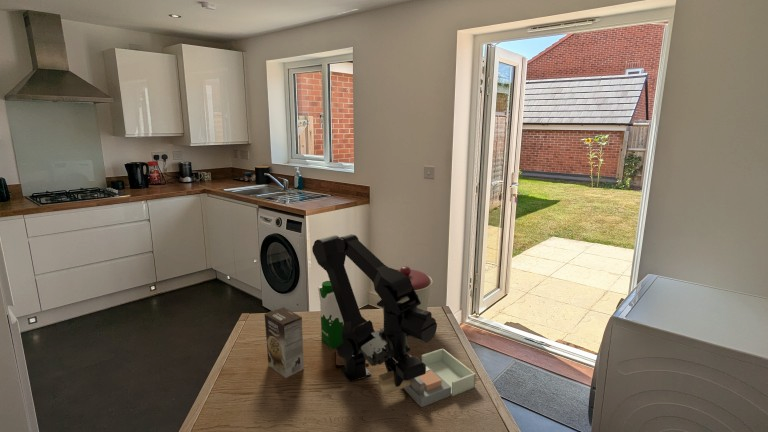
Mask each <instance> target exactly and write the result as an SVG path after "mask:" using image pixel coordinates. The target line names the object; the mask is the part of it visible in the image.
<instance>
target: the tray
mask: <svg viewBox="0 0 768 432" xmlns="http://www.w3.org/2000/svg"><path fill="white" fill-rule="evenodd" d="M421 361H423V362H424V363H425V364H426V365H427V366H428V367H429V368H430V369H432V370H433V371H434V372H435V373H436V374H437V375H438V376H439V377H441V378H442V379H443V380H444V381H445V382H446V383H447V384H449V385H450V386H451V397H454V396H457V395H460V394H463V393H464V392H467V391H469V390H472V389H475V388H476V373H475V372H474V371H472V370H471V369H470V368H469V367H468V366H466V365H465V364H464V363H462V362H461V361H460V360H459V359H457V358H456V357H454V356H453V354H451V353H450V352H448V351H447V350H446V349H444V348H440V349H437V350H433V351H430V352H427V353H423V354H422V355H421Z"/></svg>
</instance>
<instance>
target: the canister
mask: <svg viewBox="0 0 768 432" xmlns="http://www.w3.org/2000/svg"><path fill="white" fill-rule="evenodd" d="M397 270H398V271H400V272H401V273H403V274H404V275H406V276H407V277H408V278H409V279H410V281H411V284H412V286H413V288H414V290H415V292H416V294H417V295H418V298H419V300H420V302H421V304H420V305H418V306H417V308H419V309H422V310H425V311H428V306H429V299H430V294H431V293H430V292H431V287H432V286H433V284H434V280H433V279H432V277H431V276H430V275H427V274H426V273H424V272H422V271H420V270H416V269H411V267H409V266H402V267H400V268H398V269H397ZM408 300H410V299H409V298H408V297H407V298H405V299H403V300H401V301H399V302H401V303H404V302H406V301H408ZM382 311H383V315H384V308H382Z"/></svg>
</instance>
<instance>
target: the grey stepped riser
mask: <svg viewBox="0 0 768 432" xmlns="http://www.w3.org/2000/svg"><path fill="white" fill-rule="evenodd" d="M421 361H422V360H421ZM422 362H423V361H422ZM423 363H424V362H423ZM424 364H425V363H424ZM426 367H428V366H427V365H426ZM428 368H429V367H428ZM429 369H430V368H429ZM430 371H432V372H433V373H434V374H435V375H437V374H436V373H435V372H434V371H433V370H432V369H430ZM437 376H438V375H437ZM438 377H439V376H438ZM439 378H440V379H441V380H442V384H441V386H438V387H435V388H433V389H430V390H428V391H427V390H426V389H425V388H424V394H422V395H420V394H419V393H418V392H417V391H416V390H415V389H414V388H413V387H412V386H411V385H410V386H407V387H404V388H403V390H404V391H406V393H407V394H408V395H409V396H410V397H411V398H412V399H413V400H414V401H415V402H416V403H417V404H418V406H419V407H420V408H424V407H426V406H428V405H431V404H434V403H435V402H438V401H441V400H443V399H446V398H448V397H450V396H451V397H452V395H451V386H450V385H449V384H447V383H446V382H445V381H444V380H443V379H442V378H441V377H439Z"/></svg>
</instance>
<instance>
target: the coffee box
mask: <svg viewBox="0 0 768 432" xmlns="http://www.w3.org/2000/svg"><path fill="white" fill-rule="evenodd" d="M263 316H264V323H265V325H264V327H265V339H266V340H265V341H266V351H267V363H268V364H267V366H269V367H270V368H271V369H273V370H274V371H276V372H277V373H279V374H280V375H281V376H282V377H284V378H285V379H288V378H289V377H290V376H292V375H295V374H297V373H299V372H300V371H302V369H303V370H304V368H305V367H304V364H305V362H304V341H303V317H302V316H300V315H299V314H297V313H295V312H293V311H291V310H290V309H288V308H285V306H282V307H280V308H278V309H273V310H271V311H268V312H266V313H264V315H263Z"/></svg>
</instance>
